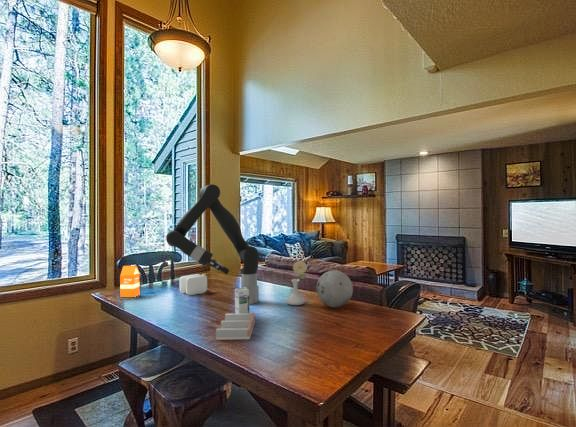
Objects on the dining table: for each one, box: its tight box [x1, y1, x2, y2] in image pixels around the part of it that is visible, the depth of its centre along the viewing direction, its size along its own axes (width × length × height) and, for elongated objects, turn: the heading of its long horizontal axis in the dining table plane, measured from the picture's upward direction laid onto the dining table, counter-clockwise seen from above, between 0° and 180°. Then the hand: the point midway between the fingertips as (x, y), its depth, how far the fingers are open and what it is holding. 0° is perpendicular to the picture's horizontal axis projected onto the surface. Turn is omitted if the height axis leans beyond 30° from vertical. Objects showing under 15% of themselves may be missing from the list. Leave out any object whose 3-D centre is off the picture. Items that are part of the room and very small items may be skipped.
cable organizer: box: [178, 273, 208, 296], centre depth 212 cm, size 15×11×12 cm
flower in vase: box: [285, 260, 308, 306], centre depth 182 cm, size 13×11×25 cm
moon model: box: [316, 269, 354, 308], centre depth 176 cm, size 20×20×20 cm
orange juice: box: [119, 265, 141, 298], centre depth 205 cm, size 8×9×20 cm
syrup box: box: [234, 287, 250, 313], centre depth 160 cm, size 6×6×14 cm
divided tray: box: [215, 312, 256, 341], centre depth 143 cm, size 14×22×4 cm, turn 0°
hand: (228, 272), depth 165 cm, fingers open, 8 cm apart
